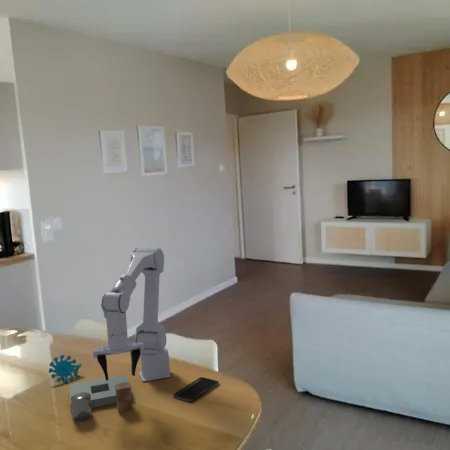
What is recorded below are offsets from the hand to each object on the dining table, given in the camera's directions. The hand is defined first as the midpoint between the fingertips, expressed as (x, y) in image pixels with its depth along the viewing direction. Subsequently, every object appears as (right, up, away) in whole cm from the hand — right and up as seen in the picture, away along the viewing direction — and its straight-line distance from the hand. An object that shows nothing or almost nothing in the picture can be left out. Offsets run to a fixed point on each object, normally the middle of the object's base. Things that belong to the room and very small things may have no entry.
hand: (120, 376), depth 138 cm
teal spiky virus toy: (-24, -8, +23) cm, 34 cm away
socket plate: (-8, -9, +9) cm, 15 cm away
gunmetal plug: (-10, -10, -3) cm, 15 cm away
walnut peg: (+1, -10, +1) cm, 10 cm away
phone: (+22, -8, +10) cm, 26 cm away
